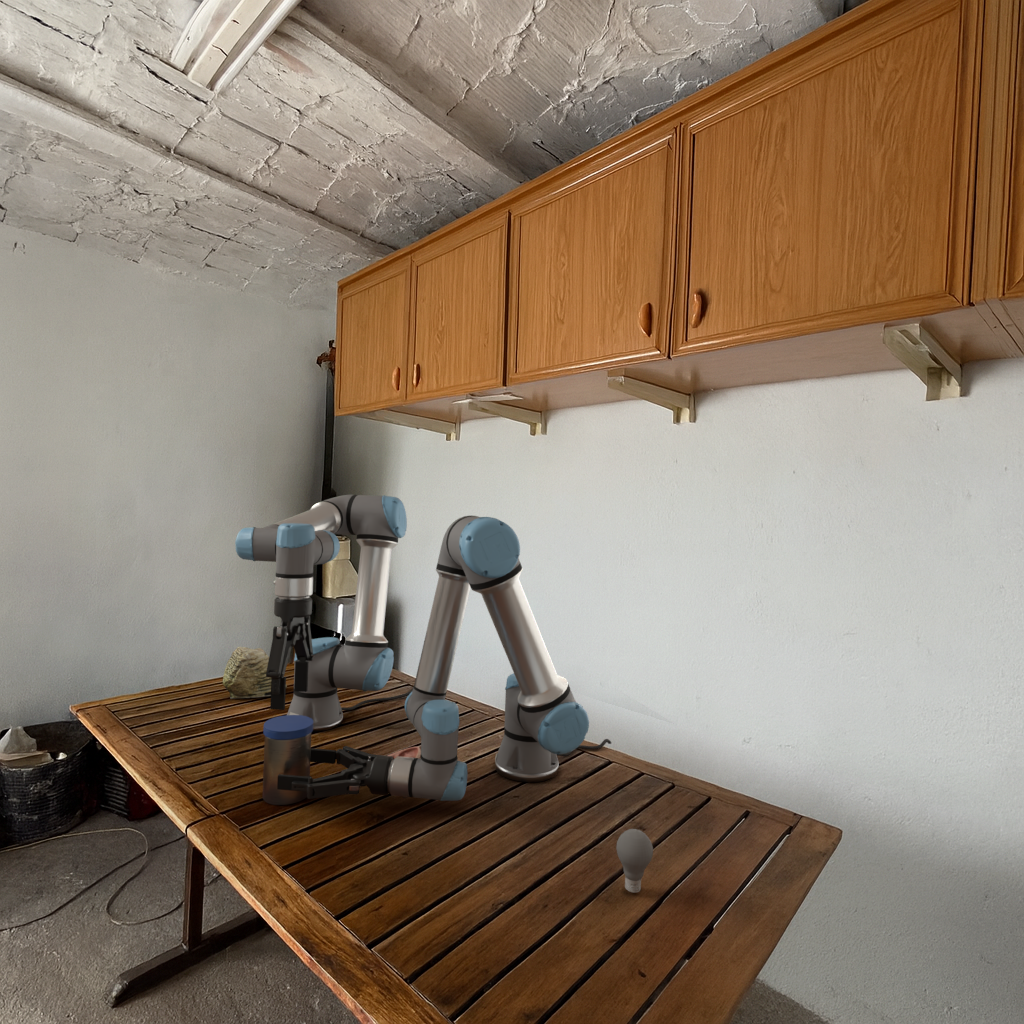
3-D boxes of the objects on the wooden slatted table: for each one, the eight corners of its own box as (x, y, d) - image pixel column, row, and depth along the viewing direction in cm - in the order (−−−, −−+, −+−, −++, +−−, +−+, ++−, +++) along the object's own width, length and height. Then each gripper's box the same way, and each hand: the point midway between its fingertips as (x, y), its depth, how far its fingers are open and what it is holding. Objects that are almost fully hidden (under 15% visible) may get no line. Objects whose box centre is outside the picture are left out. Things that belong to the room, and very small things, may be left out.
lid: (259, 740, 128) (259, 732, 128) (267, 723, 138) (267, 715, 138) (311, 738, 130) (311, 730, 130) (314, 721, 140) (315, 714, 140)
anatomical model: (354, 757, 144) (374, 739, 156) (353, 774, 145) (374, 755, 156) (409, 764, 142) (426, 745, 153) (408, 782, 142) (425, 762, 153)
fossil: (218, 695, 195) (220, 647, 195) (278, 685, 208) (279, 640, 207) (228, 703, 189) (230, 653, 188) (289, 692, 201) (290, 645, 201)
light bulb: (610, 879, 108) (613, 822, 108) (644, 879, 109) (647, 822, 109) (619, 902, 102) (622, 840, 102) (655, 901, 103) (658, 840, 103)
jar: (259, 806, 128) (261, 734, 128) (266, 786, 138) (268, 718, 137) (307, 803, 131) (309, 732, 130) (310, 783, 140) (313, 716, 139)
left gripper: (298, 588, 145) (294, 682, 146) (249, 605, 122) (245, 717, 122) (330, 589, 145) (326, 684, 145) (288, 607, 121) (283, 720, 122)
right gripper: (372, 824, 119) (264, 814, 121) (406, 768, 143) (316, 761, 145) (374, 784, 119) (265, 775, 120) (408, 735, 143) (317, 728, 145)
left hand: (289, 699), depth 134 cm, fingers open, 11 cm apart
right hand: (292, 767), depth 133 cm, fingers open, 13 cm apart
